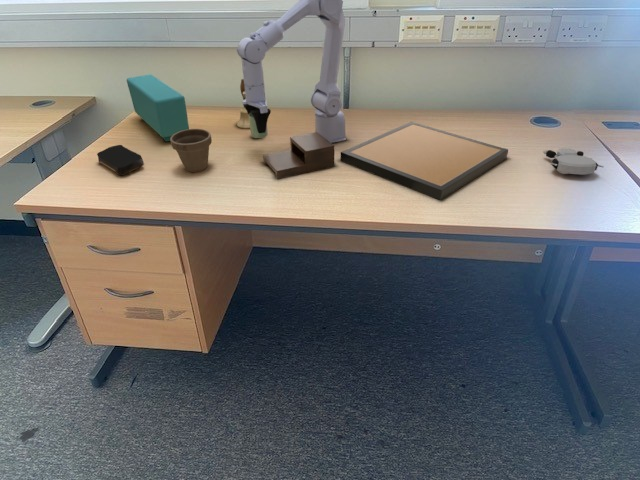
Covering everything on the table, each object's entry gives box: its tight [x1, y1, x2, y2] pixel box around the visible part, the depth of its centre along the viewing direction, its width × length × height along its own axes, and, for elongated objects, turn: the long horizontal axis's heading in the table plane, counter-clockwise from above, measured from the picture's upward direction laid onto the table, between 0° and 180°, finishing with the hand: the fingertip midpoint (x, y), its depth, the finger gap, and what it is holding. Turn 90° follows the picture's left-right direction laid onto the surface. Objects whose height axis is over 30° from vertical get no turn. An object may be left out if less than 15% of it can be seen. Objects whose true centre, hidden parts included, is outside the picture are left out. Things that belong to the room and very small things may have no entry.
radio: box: [126, 73, 190, 142], centre depth 160 cm, size 34×10×15 cm, turn 34°
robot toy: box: [542, 147, 604, 176], centre depth 130 cm, size 12×4×15 cm
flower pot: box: [169, 128, 212, 173], centre depth 133 cm, size 12×11×10 cm
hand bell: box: [236, 78, 250, 129], centre depth 161 cm, size 8×8×16 cm
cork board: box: [340, 121, 509, 201], centre depth 137 cm, size 36×3×35 cm
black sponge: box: [96, 144, 145, 176], centre depth 137 cm, size 16×8×4 cm, turn 46°
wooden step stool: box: [262, 131, 335, 180], centre depth 135 cm, size 18×12×7 cm, turn 115°
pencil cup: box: [249, 113, 269, 139], centre depth 137 cm, size 5×5×6 cm
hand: (258, 129), depth 138 cm, fingers closed on pencil cup, 5 cm apart
